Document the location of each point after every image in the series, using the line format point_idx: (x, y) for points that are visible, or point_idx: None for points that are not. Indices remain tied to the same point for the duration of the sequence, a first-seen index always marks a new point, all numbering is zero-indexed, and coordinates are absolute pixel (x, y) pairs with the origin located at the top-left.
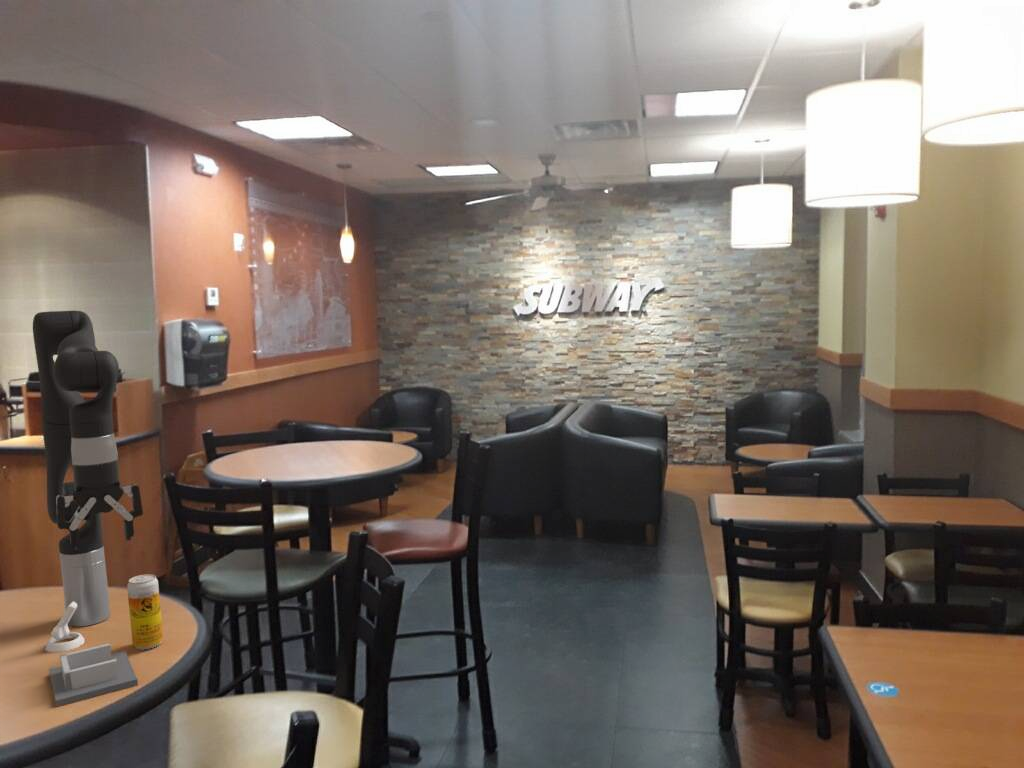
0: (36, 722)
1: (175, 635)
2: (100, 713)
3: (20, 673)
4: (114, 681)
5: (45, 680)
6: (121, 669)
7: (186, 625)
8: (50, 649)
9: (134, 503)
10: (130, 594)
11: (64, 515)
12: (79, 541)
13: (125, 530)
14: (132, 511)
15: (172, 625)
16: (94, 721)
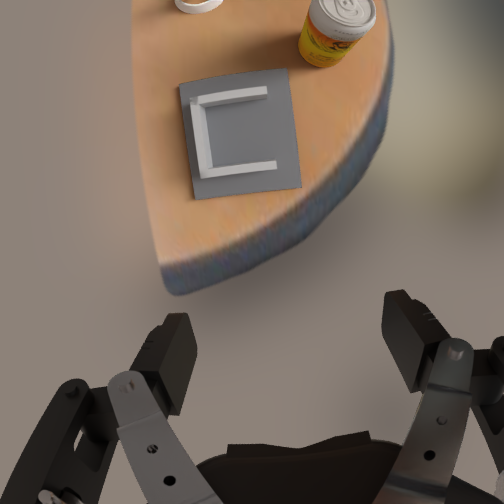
0: (179, 230)
1: None
2: (251, 247)
3: (145, 64)
4: (270, 178)
5: (177, 101)
6: (281, 138)
7: None
8: (180, 7)
9: (490, 448)
10: (316, 23)
11: (101, 479)
12: (190, 374)
13: (397, 347)
14: (473, 396)
15: None
16: (245, 264)
